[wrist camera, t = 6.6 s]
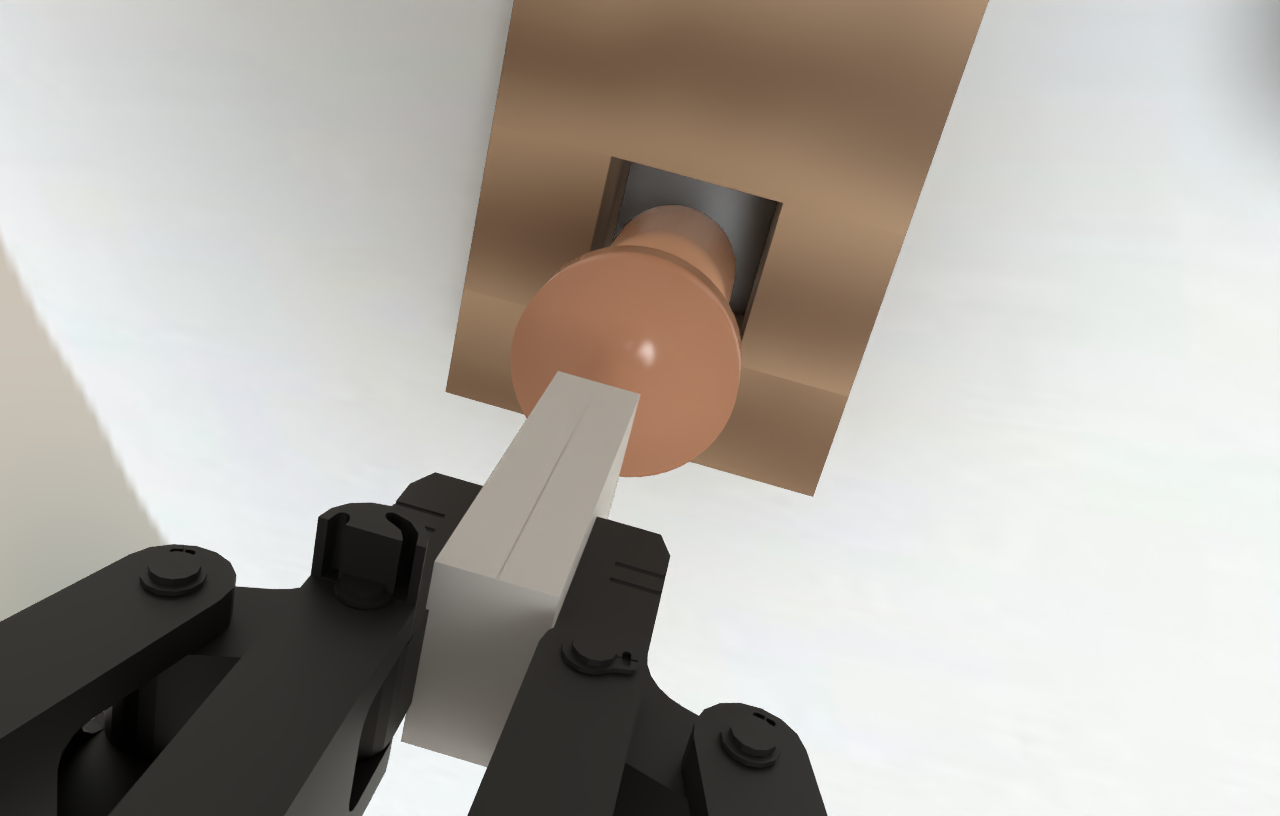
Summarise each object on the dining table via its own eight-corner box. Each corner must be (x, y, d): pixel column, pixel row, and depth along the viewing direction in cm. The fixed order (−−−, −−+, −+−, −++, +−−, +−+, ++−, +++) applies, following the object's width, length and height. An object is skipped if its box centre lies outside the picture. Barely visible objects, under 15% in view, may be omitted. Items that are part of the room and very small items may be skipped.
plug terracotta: (611, 163, 28) (534, 231, 20) (778, 209, 28) (767, 295, 20) (574, 322, 30) (492, 441, 22) (731, 366, 30) (704, 502, 22)
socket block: (646, -480, 27) (614, -576, 22) (1088, -372, 27) (1147, -448, 22) (490, 341, 37) (445, 391, 32) (812, 432, 36) (813, 496, 32)
